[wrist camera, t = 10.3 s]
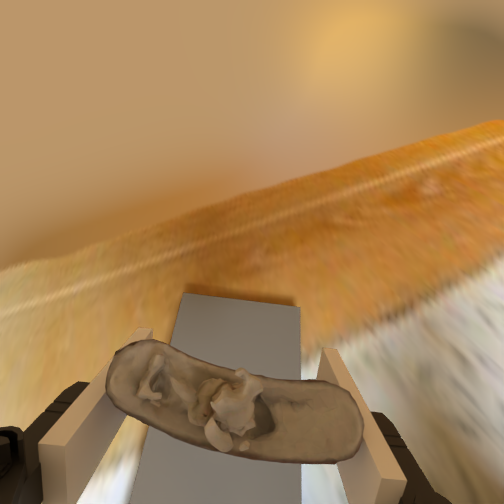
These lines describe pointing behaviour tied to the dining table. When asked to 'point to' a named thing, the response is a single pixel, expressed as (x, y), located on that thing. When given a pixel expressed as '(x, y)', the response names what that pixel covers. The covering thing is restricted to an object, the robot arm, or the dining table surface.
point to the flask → (234, 407)
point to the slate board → (233, 356)
